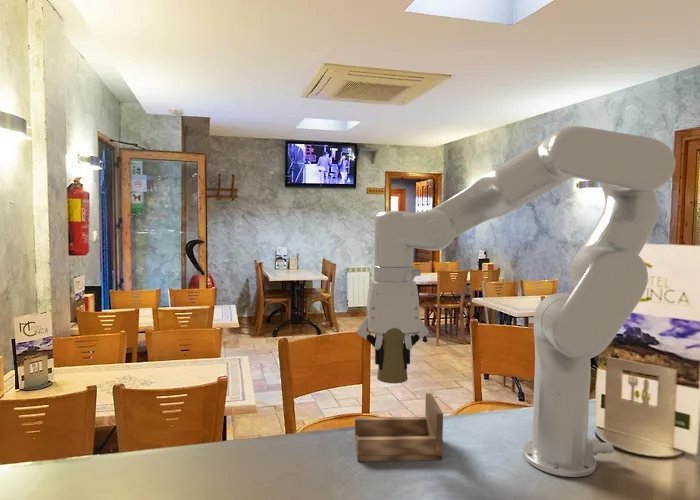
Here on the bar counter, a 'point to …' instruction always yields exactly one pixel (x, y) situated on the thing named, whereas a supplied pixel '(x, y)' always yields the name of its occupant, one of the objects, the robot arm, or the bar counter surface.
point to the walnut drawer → (401, 436)
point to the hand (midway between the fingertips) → (392, 366)
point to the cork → (393, 358)
